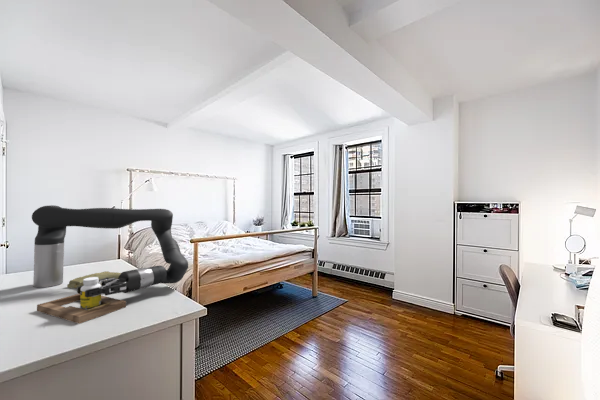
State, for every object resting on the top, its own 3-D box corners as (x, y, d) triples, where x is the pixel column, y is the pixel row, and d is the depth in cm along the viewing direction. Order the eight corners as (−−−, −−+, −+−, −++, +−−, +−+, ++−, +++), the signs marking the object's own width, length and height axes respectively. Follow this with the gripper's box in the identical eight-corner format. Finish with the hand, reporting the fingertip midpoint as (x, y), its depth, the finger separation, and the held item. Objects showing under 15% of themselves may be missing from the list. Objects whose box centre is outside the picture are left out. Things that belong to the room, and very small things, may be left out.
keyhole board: (36, 311, 87) (37, 304, 87) (85, 297, 100) (85, 291, 100) (79, 323, 79) (79, 316, 79) (125, 307, 92) (126, 300, 92)
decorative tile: (104, 277, 128) (104, 270, 128) (140, 280, 124) (141, 273, 124) (62, 289, 110) (62, 280, 110) (103, 294, 106) (103, 284, 106)
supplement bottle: (76, 310, 87) (76, 279, 87) (94, 304, 92) (94, 275, 92) (87, 313, 85) (87, 281, 85) (105, 306, 90) (105, 277, 90)
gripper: (126, 266, 105) (72, 276, 90) (147, 272, 97) (91, 284, 83) (126, 286, 105) (72, 299, 90) (147, 293, 97) (91, 309, 83)
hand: (81, 292), depth 86 cm, fingers closed on supplement bottle, 5 cm apart
